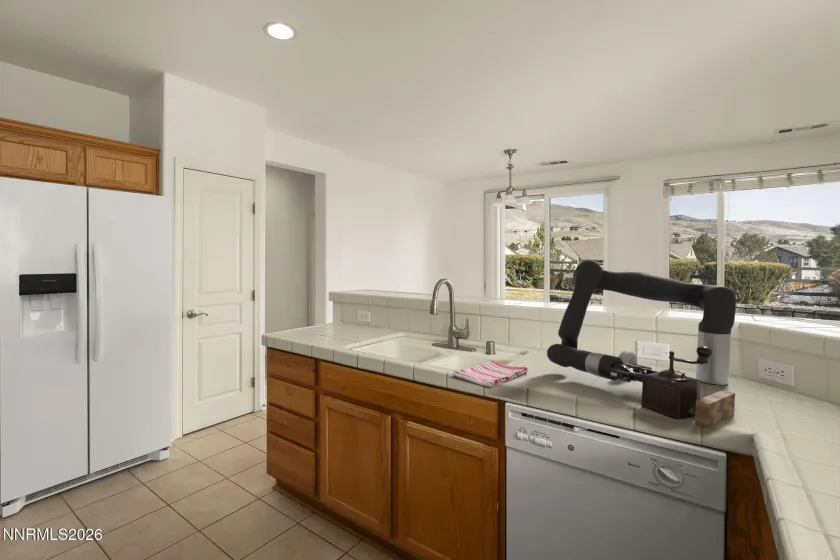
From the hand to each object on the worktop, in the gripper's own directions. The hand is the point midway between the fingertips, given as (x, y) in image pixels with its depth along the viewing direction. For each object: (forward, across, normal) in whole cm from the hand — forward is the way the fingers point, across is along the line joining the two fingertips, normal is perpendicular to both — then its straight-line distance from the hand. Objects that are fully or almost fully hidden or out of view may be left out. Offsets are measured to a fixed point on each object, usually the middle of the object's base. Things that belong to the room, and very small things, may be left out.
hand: (656, 378), depth 121 cm
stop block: (+15, 0, +7) cm, 17 cm away
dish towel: (-45, -23, +8) cm, 51 cm away
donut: (-18, +17, +7) cm, 26 cm away
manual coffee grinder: (+6, -1, +7) cm, 10 cm away
